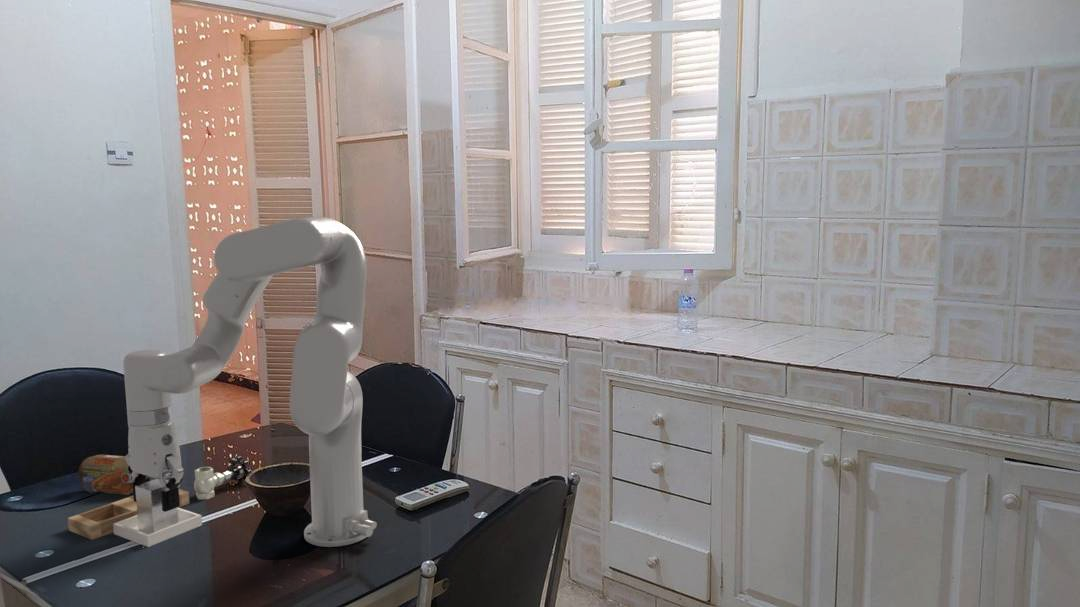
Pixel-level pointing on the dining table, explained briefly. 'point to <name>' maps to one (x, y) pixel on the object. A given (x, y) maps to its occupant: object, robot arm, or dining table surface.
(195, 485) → the valve
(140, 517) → the gray rectangular block
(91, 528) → the wooden compartment tray
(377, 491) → the dining table surface
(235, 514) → the dining table surface
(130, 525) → the dish
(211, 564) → the dining table surface
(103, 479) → the tin
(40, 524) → the dining table surface
